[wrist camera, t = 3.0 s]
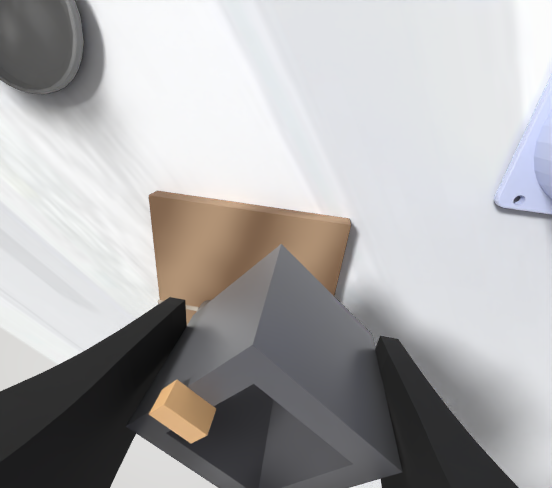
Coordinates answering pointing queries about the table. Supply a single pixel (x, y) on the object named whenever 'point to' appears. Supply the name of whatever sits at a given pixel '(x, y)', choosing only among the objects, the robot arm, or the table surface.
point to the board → (235, 244)
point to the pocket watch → (40, 44)
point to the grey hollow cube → (273, 388)
